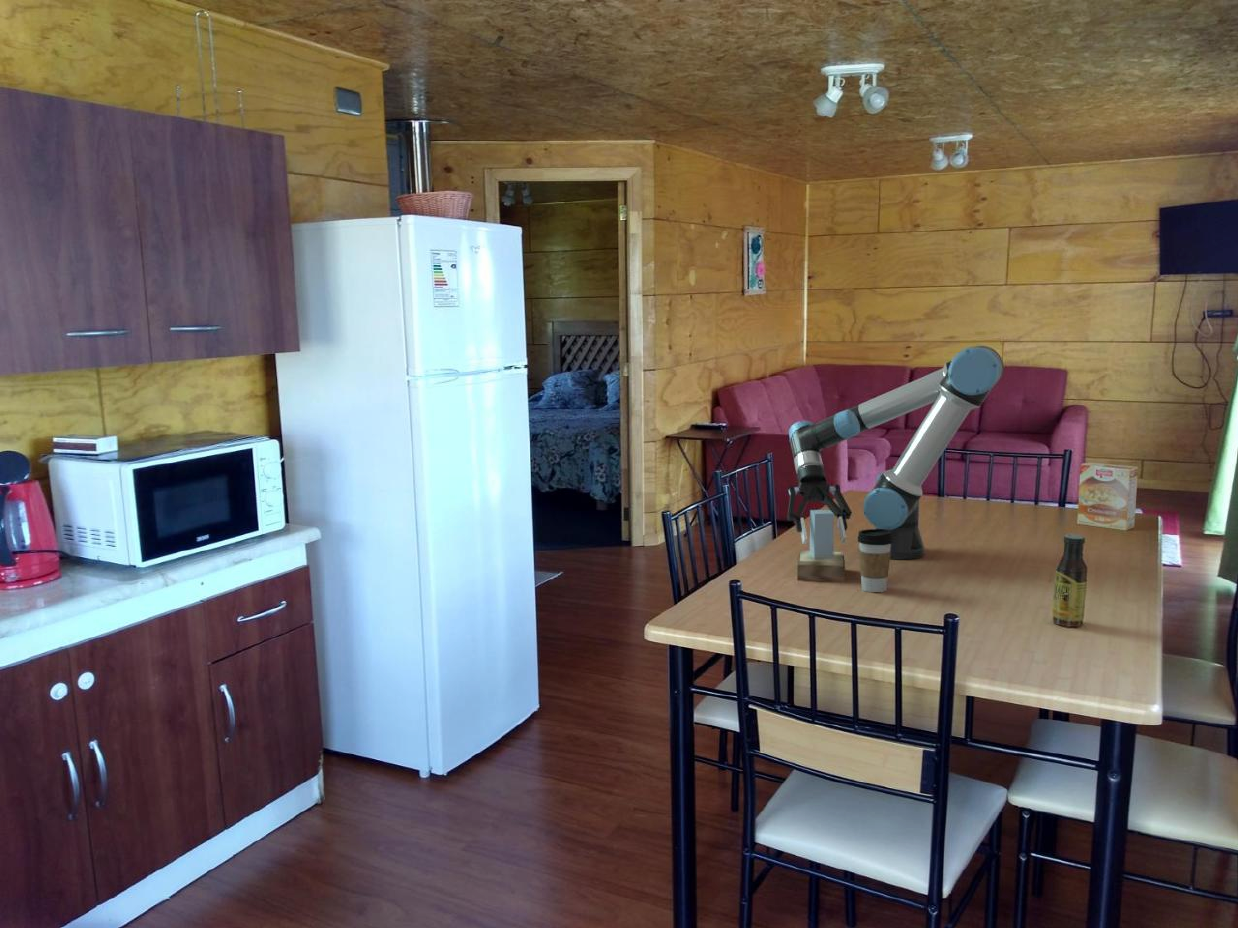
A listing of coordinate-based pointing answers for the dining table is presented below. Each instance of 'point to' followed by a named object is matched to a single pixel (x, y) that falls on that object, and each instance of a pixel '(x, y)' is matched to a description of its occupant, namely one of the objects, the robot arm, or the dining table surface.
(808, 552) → the pedestal
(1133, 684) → the dining table surface
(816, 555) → the block
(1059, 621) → the sauce bottle
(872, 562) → the coffee cup
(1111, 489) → the coffeecake box
